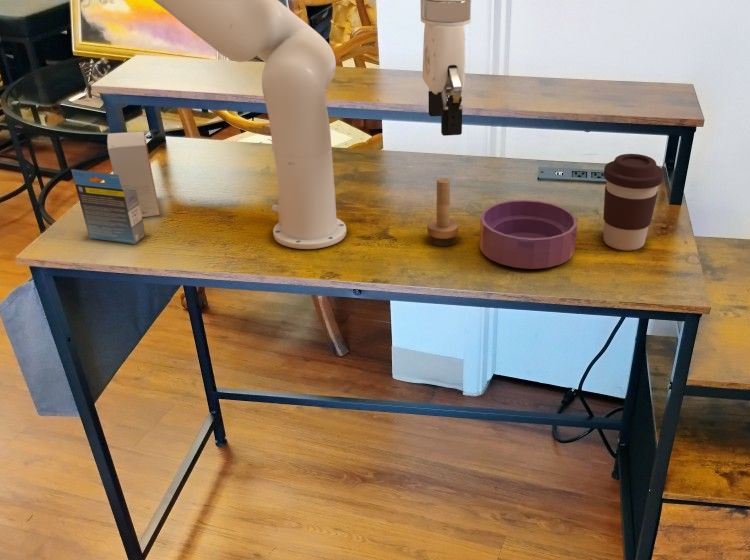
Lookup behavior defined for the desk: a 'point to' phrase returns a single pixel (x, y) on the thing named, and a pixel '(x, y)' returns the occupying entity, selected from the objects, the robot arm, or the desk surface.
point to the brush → (443, 218)
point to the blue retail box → (109, 208)
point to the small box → (134, 168)
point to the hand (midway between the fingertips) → (444, 124)
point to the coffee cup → (629, 200)
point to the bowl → (527, 234)
